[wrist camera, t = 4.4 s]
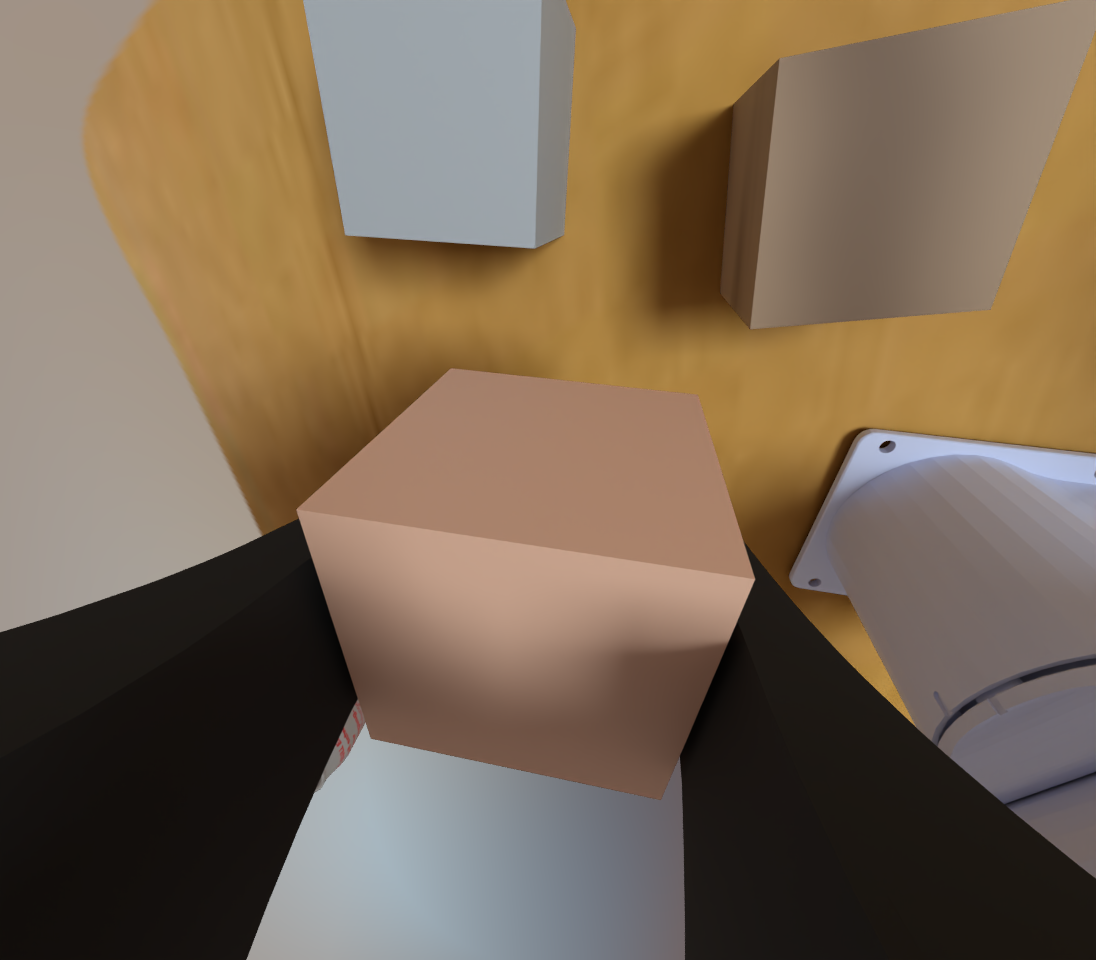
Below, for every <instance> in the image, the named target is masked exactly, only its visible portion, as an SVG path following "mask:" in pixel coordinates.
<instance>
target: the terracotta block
mask: <svg viewBox="0 0 1096 960" xmlns="http://www.w3.org/2000/svg"><path fill="white" fill-rule="evenodd" d="M296 510H297V513H298V516H299V520H300V523H301V526H302V529H303V532H304V535H305V538H306V541H307V544H308V547H309V550H310V553H311V556H312V559H313V562H314V566H315V569H316V572H317V575H318V578H319V581H320V584H321V587H322V590H323V593H324V596H325V599H326V602H327V605H328V608H329V612H330V615H331V618H332V621H333V624H334V627H335V630H336V633H337V636H338V639H339V642H340V645H341V648H342V651H343V654H344V657H345V661H346V664H347V667H348V670H349V673H350V676H351V679H352V682H353V685H354V688H355V691H356V694H357V697H358V700H359V703H360V707H361V710H362V713H363V716H364V719H365V722H366V725H367V728H368V731H369V734H370V737H371V739H375V740H380V741H385V742H389V743H394V744H399V745H404V746H408V747H413V748H418V749H423V750H427V751H432V752H437V753H441V754H446V755H451V756H455V757H460V758H465V759H470V760H474V761H479V762H484V763H488V764H493V765H498V766H502V767H507V768H512V769H517V770H521V771H526V772H531V773H536V774H540V775H545V776H550V777H555V778H559V779H564V780H568V781H573V782H578V783H582V784H587V785H592V786H597V787H601V788H606V789H611V790H615V791H620V792H625V793H630V794H634V795H639V796H644V797H648V798H653V799H658V800H661V799H662V796H663V794H664V792H665V789H666V787H667V785H668V782H669V780H670V778H671V775H672V773H673V771H674V768H675V766H676V764H677V761H678V759H679V757H680V754H681V752H682V750H683V747H684V745H685V743H686V740H687V738H688V735H689V733H690V731H691V728H692V726H693V724H694V721H695V719H696V717H697V714H698V712H699V710H700V707H701V705H702V703H703V700H704V698H705V696H706V693H707V691H708V689H709V686H710V684H711V682H712V679H713V677H714V675H715V672H716V670H717V668H718V665H719V663H720V660H721V658H722V656H723V653H724V651H725V649H726V646H727V644H728V642H729V639H730V637H731V635H732V632H733V630H734V628H735V625H736V623H737V621H738V618H739V616H740V614H741V611H742V609H743V607H744V604H745V602H746V600H747V597H748V595H749V592H750V590H751V588H752V585H753V583H754V581H755V577H754V574H753V571H752V568H751V564H750V561H749V558H748V555H747V551H746V548H745V545H744V542H743V539H742V535H741V532H740V529H739V526H738V523H737V519H736V516H735V513H734V510H733V506H732V503H731V500H730V497H729V494H728V490H727V487H726V484H725V481H724V478H723V474H722V471H721V468H720V465H719V461H718V458H717V455H716V452H715V449H714V445H713V442H712V439H711V436H710V433H709V429H708V426H707V423H706V420H705V416H704V413H703V410H702V407H701V404H700V400H699V397H698V395H694V394H685V393H676V392H667V391H657V390H648V389H639V388H629V387H620V386H611V385H602V384H592V383H583V382H574V381H564V380H555V379H546V378H536V377H527V376H518V375H509V374H499V373H490V372H481V371H471V370H462V369H453V368H451V369H450V370H449V371H448V372H446V373H445V374H444V375H443V376H442V377H441V378H440V379H439V380H438V381H437V382H436V383H434V384H433V385H432V386H431V387H430V388H429V389H428V390H427V391H426V392H425V393H423V394H422V395H421V396H420V397H419V398H418V399H417V400H416V401H415V402H414V403H412V404H411V405H410V406H409V407H408V408H407V409H406V410H405V411H404V412H403V413H401V414H400V415H399V416H398V417H397V418H396V419H395V420H394V421H393V422H392V423H391V424H389V425H388V426H387V427H386V428H385V429H384V430H383V431H382V432H381V433H380V434H378V435H377V436H376V437H375V438H374V439H373V440H372V441H371V442H370V443H369V444H367V445H366V446H365V447H364V448H363V449H362V450H361V451H360V452H359V453H358V454H357V455H355V456H354V457H353V458H352V459H351V460H350V461H349V462H348V463H347V464H346V465H344V466H343V467H342V468H341V469H340V470H339V471H338V472H337V473H336V474H335V475H333V476H332V477H331V478H330V479H329V480H328V481H327V482H326V483H325V484H324V485H323V486H321V487H320V488H319V489H318V490H317V491H316V492H315V493H314V494H313V495H312V496H310V497H309V498H308V499H307V500H306V501H305V502H304V503H303V504H302V505H301V506H299V507H298V508H297V509H296Z"/></svg>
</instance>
